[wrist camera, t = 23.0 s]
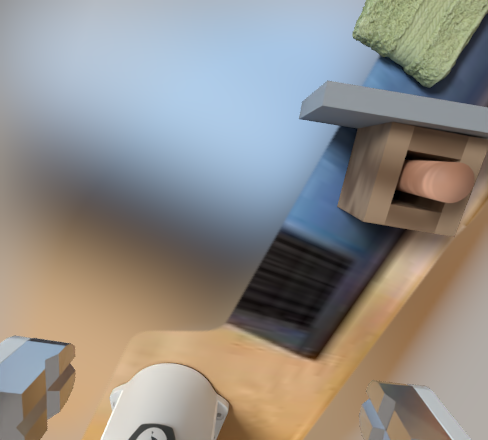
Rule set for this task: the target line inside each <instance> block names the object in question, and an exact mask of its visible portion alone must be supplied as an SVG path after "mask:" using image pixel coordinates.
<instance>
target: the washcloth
mask: <svg viewBox="0 0 488 440" xmlns="http://www.w3.org/2000/svg"><path fill="white" fill-rule="evenodd" d="M487 13H488V0H366V2H365V7H363V11H362V13H361V15H360V17H359V19H358V20H357V22H356V26H355V28H354V29H355V30H354V31H353V38H354V39H356V40H358V41H360V42H361V43H362V44H364V45H366V46H368V47H371V49H372V50H375V51H376V52H377V53H379V55H380V56H383V57H389V58H390V59H391V60H393V61H395V62H396V63H397V64H400V65H401V66H402V67H403V68H404V71H405V72H406V73H407V74H408V75H412V76H413V77H414V78H415V79H416V80H417V81H418V82H420V84H421V85H422V86H424V87H428V88H430V87H432V86H433V85H434V84H435V83H437V82H439V81H440V80H442V79H444V78H445V77H446V76H447V75H448V74H449V73H450V71H451V68H452V67H453V66H454V65H455V63H456V59H457V58H458V57H459V55H460V53H461V52H462V50H463V48H464V47H465V46H466V45H467V44H468V42H469V40H470V39H471V37H472V34H473V33H474V32H475V31H476V29H477V28H478V27H479V25H480V23H481V21H482V19H483V18H484V16H485V15H486V14H487Z"/></svg>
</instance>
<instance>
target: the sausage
mask: <svg viewBox="0 0 488 440" xmlns="http://www.w3.org/2000/svg"><path fill="white" fill-rule="evenodd" d="M473 185H474V173H473V171H472V169H471V168H470V167H469V166H468V165H466V164H464V163H460V162H442V161H423V160H404V163H403V166H402V170H401V173H400V176H399V179H398V182H397V186H396V189H395V190H398V191H402V192H406V193H410V194H414V195H417V196H421V197H425V198H429V199H433V200H437V201H441V202H445V203H455V202H458V201H460V200H462V199H464V198H465V197H466V196H467V195H468V194H469V193H470V191H471V190H472V188H473Z"/></svg>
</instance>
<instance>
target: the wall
mask: <svg viewBox="0 0 488 440" xmlns="http://www.w3.org/2000/svg"><path fill="white" fill-rule="evenodd" d="M299 119H303V120H309V121H315V122H321V123H327V124H334V125H339V126H346V127H352V128H363V127H368V126H374V125H379V124H384V123H389V122H397V123H402V124H407V125H413V126H418V127H423V128H429V129H434V130H439V131H444V132H450V133H455V134H460V135H466V136H471V137H476V138H482V139H487V140H488V108H487V107H481V106H475V105H469V104H463V103H457V102H452V101H446V100H440V99H434V98H428V97H422V96H416V95H410V94H404V93H398V92H392V91H386V90H380V89H374V88H368V87H362V86H356V85H351V84H344V83H338V82H332V81H327V82H325V83H324V84H323V85H322V86H320V87H319V88H318V89H317V90H316V91H314V92H313V93H312V94H311V95H310V96H309V97H307V98H306V99H305V100H304V101H303V102H302V106H301V112H300V116H299Z"/></svg>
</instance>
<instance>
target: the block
mask: <svg viewBox="0 0 488 440" xmlns="http://www.w3.org/2000/svg"><path fill="white" fill-rule="evenodd" d="M487 150H488V140H487V139H482V138H476V137H471V136H466V135H460V134H455V133H450V132H444V131H439V130H434V129H429V128H423V127H418V126H413V125H407V124H402V123H397V122H389V123H384V124H379V125H374V126H368V127H363V128H358V130H357V134H356V137H355V141H354V145H353V149H352V153H351V156H350V160H349V164H348V168H347V172H346V175H345V179H344V183H343V187H342V191H341V194H340V198H339V202H338V206H337V207H339V208H341V209H343V210H344V211H346V212H348V213H349V214H351V215H353V216H355V217H356V218H358V219H360V220H361V221H363V222H368V223H374V224H380V225H386V226H392V227H398V228H404V229H410V230H416V231H422V232H427V233H433V234H439V235H445V236H451V237H454V236H455V234H456V231H457V229H458V226H459V223H460V221H461V218H462V216H463V213H464V210H465V208H466V205H467V203H468V200H469V197H470V195H471V192H472V190H473V188H472V190H471V191H470V193H469V194H468V195H467V196H466V197H465V198H464V199H462V200H460V201H458V202H455V203H445V202H441V201H437V200H433V199H429V198H425V197H421V196H417V195H414V194H410V193H406V192H402V191H401V193H400V196H399V199H398V200H397V199H392V198H393V195H394V192H395V189H396V186H397V182H398V179H399V176H400V173H401V170H402V166H403V163H404V160H405V157H410V158H411V160H423V161H442V162H460V163H464V164H466V165H468V166H469V167H470V168H471V169H472V171H473V173H474V184H475V182H476V179H477V176H478V174H479V171H480V169H481V166H482V163H483V161H484V158H485V156H486V153H487ZM473 187H474V185H473Z"/></svg>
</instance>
